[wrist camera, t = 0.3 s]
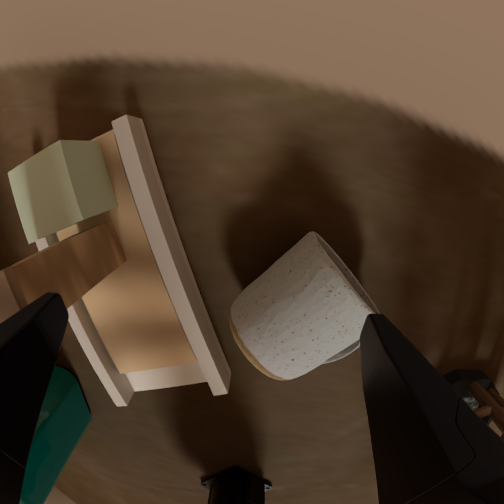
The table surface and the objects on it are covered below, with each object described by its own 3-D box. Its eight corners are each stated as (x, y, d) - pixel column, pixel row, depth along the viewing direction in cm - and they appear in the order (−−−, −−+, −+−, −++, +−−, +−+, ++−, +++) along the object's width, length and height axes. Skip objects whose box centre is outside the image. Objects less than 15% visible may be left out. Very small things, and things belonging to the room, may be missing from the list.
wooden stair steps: (199, 355, 26) (161, 477, 14) (124, 367, 26) (63, 468, 14) (119, 132, 21) (-4, 121, 9) (44, 170, 22) (-76, 192, 10)
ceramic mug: (225, 290, 25) (212, 345, 18) (305, 218, 23) (325, 248, 16) (312, 369, 27) (325, 432, 20) (386, 310, 25) (422, 362, 18)
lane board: (231, 371, 27) (228, 393, 24) (127, 387, 28) (117, 406, 26) (142, 119, 22) (126, 114, 19) (37, 172, 23) (15, 175, 20)
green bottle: (97, 423, 31) (22, 569, 9) (43, 409, 31) (-38, 528, 10) (72, 356, 28) (-48, 514, 7) (17, 345, 28) (-99, 464, 7)
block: (118, 206, 21) (83, 219, 17) (67, 227, 22) (28, 244, 17) (98, 141, 20) (59, 139, 15) (49, 167, 21) (7, 172, 16)
